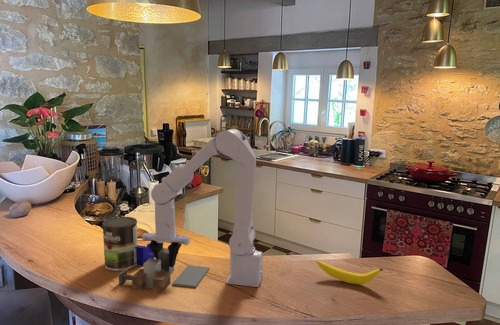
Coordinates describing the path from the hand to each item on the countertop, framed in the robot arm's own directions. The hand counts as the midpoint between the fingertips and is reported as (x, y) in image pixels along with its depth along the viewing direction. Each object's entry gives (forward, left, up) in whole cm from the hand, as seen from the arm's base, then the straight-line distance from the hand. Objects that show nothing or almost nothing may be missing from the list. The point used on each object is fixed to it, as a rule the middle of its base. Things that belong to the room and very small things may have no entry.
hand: (166, 264), depth 111 cm
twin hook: (+2, +3, -2) cm, 5 cm away
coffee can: (+16, -2, -3) cm, 17 cm away
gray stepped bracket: (0, +2, -2) cm, 3 cm away
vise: (+3, +9, -2) cm, 9 cm away
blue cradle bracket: (+11, -9, -3) cm, 14 cm away
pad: (-9, +1, -2) cm, 9 cm away
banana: (-54, -6, -3) cm, 54 cm away
